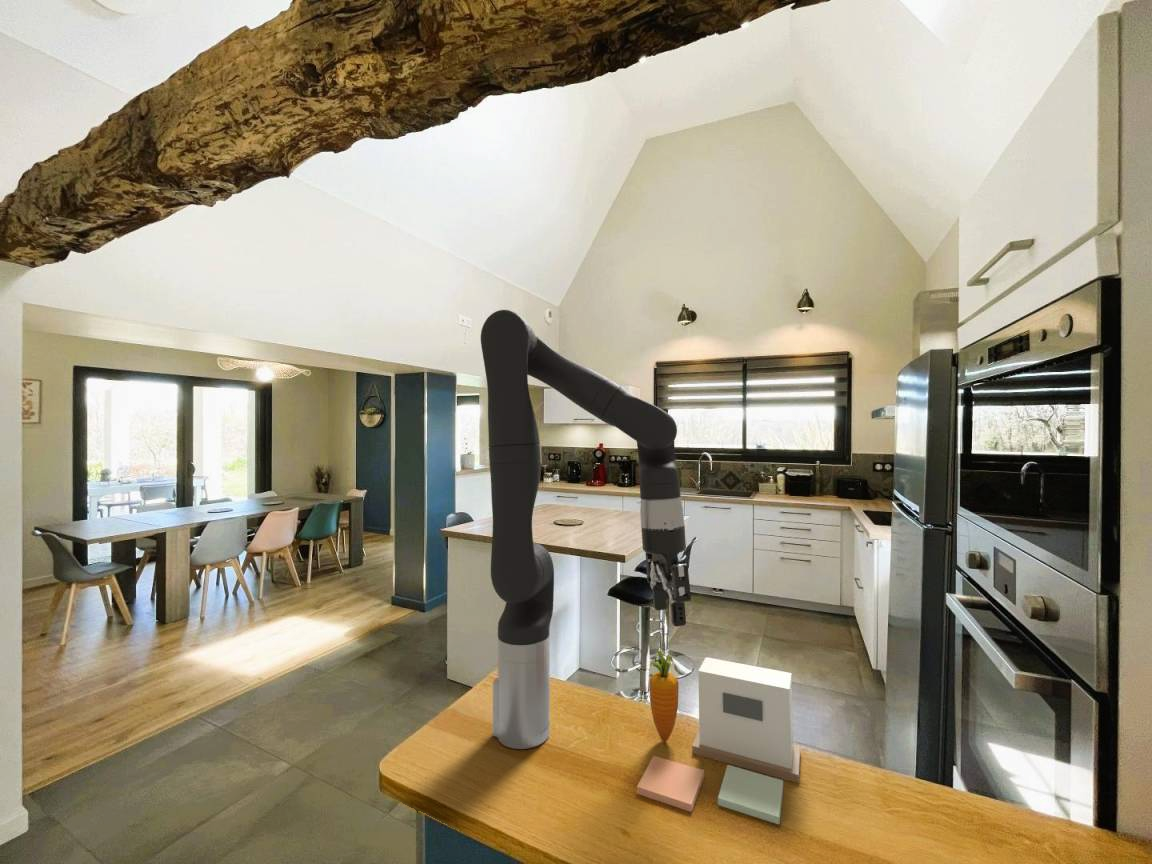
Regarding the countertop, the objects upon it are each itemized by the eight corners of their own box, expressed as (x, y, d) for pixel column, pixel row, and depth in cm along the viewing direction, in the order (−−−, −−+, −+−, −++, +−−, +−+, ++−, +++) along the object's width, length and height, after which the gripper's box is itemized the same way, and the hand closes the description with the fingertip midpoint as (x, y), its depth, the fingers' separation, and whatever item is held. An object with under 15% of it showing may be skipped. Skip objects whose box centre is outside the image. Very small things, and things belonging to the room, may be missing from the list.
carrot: (679, 752, 79) (678, 660, 80) (649, 748, 80) (648, 658, 81) (679, 735, 84) (677, 648, 85) (650, 732, 85) (649, 646, 86)
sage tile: (717, 805, 67) (717, 797, 67) (727, 771, 74) (727, 764, 74) (779, 824, 64) (779, 817, 64) (783, 787, 71) (783, 780, 71)
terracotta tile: (637, 793, 70) (636, 786, 70) (653, 762, 77) (653, 755, 77) (691, 812, 66) (691, 804, 66) (704, 777, 73) (704, 770, 73)
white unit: (692, 753, 79) (691, 672, 79) (702, 728, 86) (701, 653, 87) (798, 783, 72) (796, 693, 72) (800, 753, 79) (798, 671, 79)
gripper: (629, 520, 90) (636, 607, 89) (656, 531, 76) (664, 634, 75) (667, 517, 92) (673, 602, 91) (700, 527, 78) (708, 628, 77)
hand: (669, 617), depth 83 cm, fingers open, 8 cm apart
